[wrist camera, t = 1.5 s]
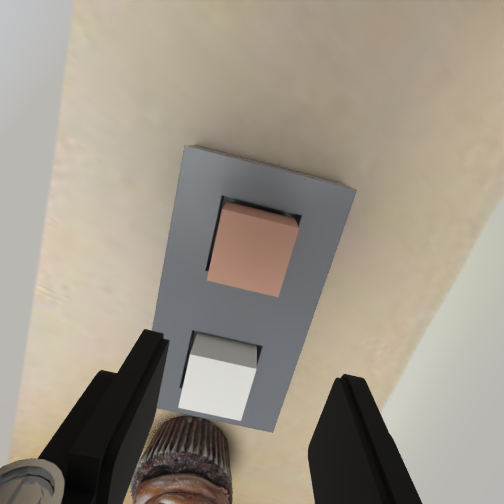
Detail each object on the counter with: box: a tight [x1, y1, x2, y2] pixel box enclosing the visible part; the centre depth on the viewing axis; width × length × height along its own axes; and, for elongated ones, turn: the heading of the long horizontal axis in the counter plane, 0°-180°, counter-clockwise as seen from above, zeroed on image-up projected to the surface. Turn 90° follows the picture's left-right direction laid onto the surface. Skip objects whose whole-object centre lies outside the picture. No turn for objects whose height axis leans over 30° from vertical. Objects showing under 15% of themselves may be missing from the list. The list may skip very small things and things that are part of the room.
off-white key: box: [178, 332, 257, 421], centre depth 27 cm, size 5×5×3 cm
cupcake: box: [129, 416, 233, 504], centre depth 31 cm, size 10×10×10 cm
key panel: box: [152, 145, 357, 433], centre depth 28 cm, size 22×12×4 cm, turn 166°
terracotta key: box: [207, 201, 299, 297], centre depth 23 cm, size 5×5×3 cm
